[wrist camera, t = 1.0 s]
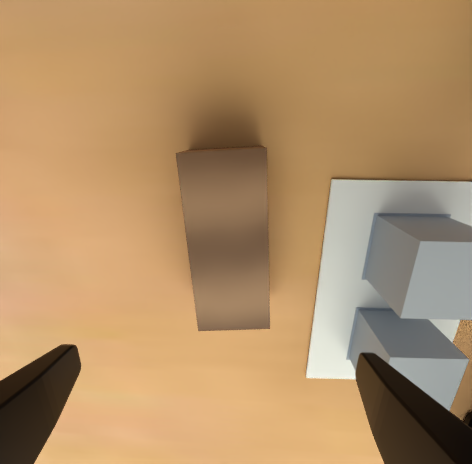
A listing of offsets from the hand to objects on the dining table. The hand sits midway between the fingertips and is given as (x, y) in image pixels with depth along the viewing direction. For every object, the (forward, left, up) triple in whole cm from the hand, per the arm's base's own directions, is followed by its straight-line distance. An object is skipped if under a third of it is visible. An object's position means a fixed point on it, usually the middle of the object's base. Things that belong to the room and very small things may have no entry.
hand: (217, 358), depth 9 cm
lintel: (0, 0, -13) cm, 13 cm away
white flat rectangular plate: (-5, -13, -12) cm, 19 cm away
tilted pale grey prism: (-1, -13, -12) cm, 18 cm away
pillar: (-9, -13, -12) cm, 20 cm away
